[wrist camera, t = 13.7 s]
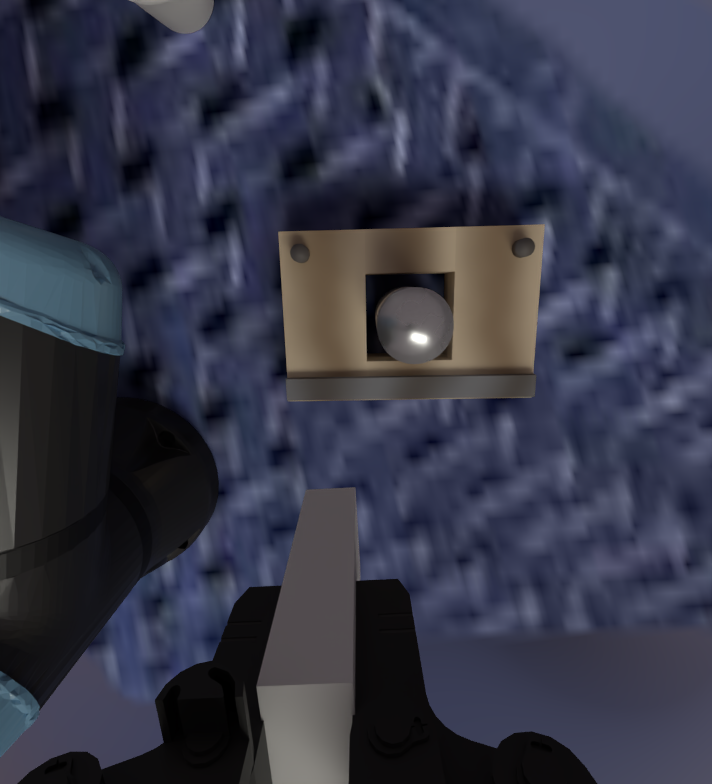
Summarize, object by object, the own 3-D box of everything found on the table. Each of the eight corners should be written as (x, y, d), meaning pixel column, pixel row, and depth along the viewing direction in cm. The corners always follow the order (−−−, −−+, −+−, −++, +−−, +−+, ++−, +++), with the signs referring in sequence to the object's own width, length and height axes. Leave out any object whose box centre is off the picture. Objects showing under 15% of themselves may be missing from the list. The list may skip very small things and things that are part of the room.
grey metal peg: (375, 342, 35) (377, 365, 25) (374, 287, 34) (376, 288, 24) (429, 341, 35) (452, 363, 25) (430, 285, 34) (454, 285, 24)
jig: (297, 388, 36) (286, 404, 31) (288, 238, 33) (275, 229, 28) (512, 385, 35) (536, 400, 31) (523, 232, 33) (550, 222, 28)
